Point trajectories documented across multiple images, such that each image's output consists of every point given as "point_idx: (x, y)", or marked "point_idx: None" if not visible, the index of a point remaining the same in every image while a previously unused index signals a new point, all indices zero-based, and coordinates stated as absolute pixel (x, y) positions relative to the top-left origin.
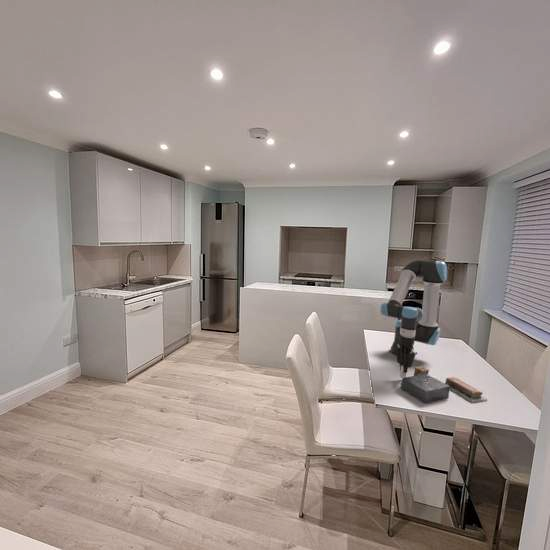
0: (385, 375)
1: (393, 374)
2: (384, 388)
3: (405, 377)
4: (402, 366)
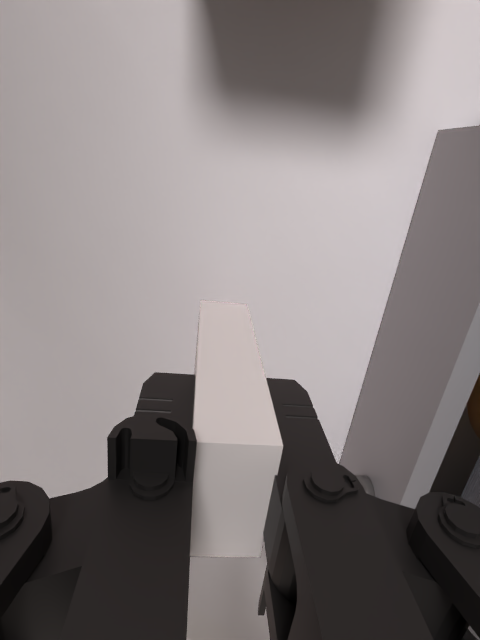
0: (17, 417)
1: (17, 284)
2: (257, 609)
3: (247, 307)
4: (229, 552)
